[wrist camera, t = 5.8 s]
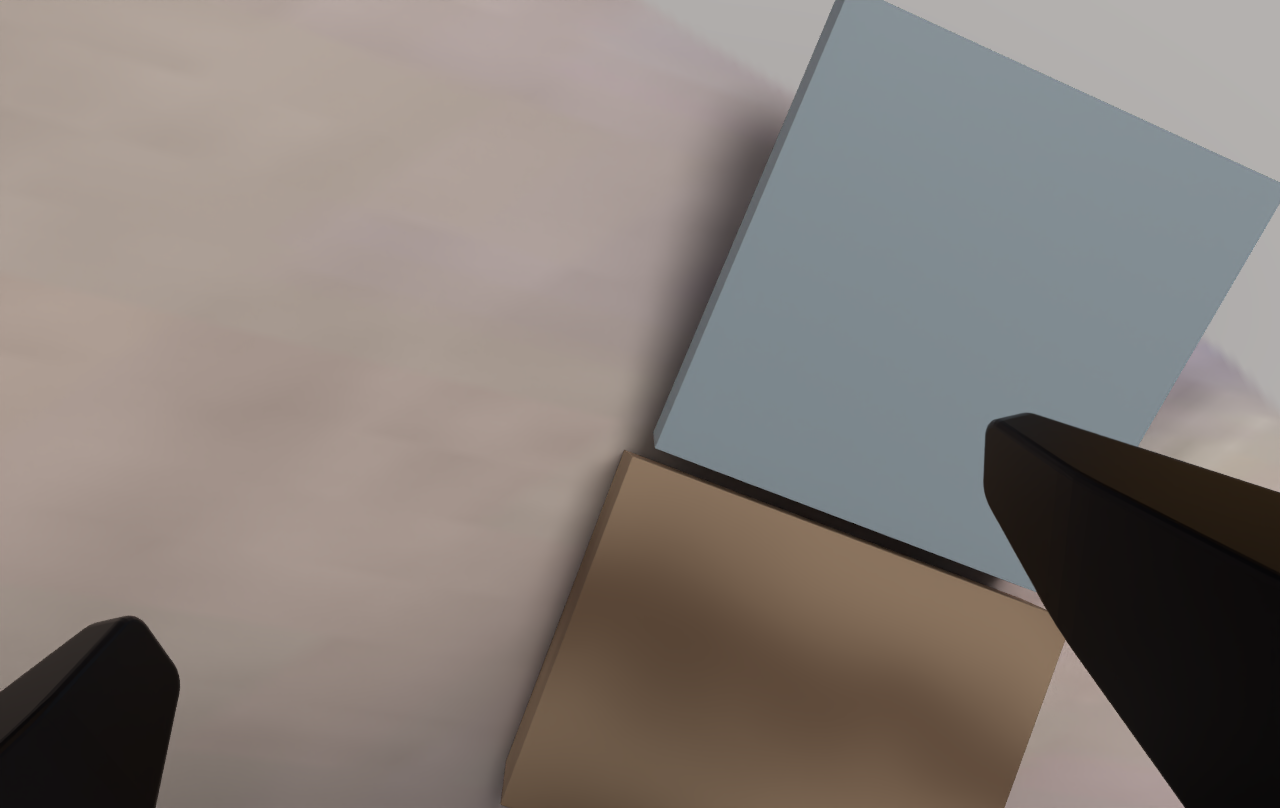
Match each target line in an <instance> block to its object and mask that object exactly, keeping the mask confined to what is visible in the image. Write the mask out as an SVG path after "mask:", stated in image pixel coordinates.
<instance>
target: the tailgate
mask: <svg viewBox="0 0 1280 808" xmlns="http://www.w3.org/2000/svg"><path fill="white" fill-rule="evenodd" d="M1279 204H1280V182H1278V181H1276V180H1273V179H1271V178H1269V177H1267V176H1265V175H1263V174H1260V173H1258V172H1256V171H1254V170H1252V169H1249V168H1247V167H1245V166H1243V165H1241V164H1239V163H1236V162H1234V161H1232V160H1230V159H1228V158H1225V157H1223V156H1221V155H1219V154H1217V153H1215V152H1212V151H1210V150H1208V149H1206V148H1204V147H1202V146H1199V145H1197V144H1195V143H1193V142H1191V141H1188V140H1186V139H1184V138H1182V137H1180V136H1178V135H1175V134H1173V133H1171V132H1169V131H1167V130H1164V129H1162V128H1160V127H1158V126H1156V125H1153V124H1151V123H1149V122H1147V121H1144V120H1143V119H1140V118H1138V117H1136V116H1134V115H1132V114H1129V113H1127V112H1125V111H1123V110H1121V109H1119V108H1117V107H1114V106H1112V105H1110V104H1108V103H1106V102H1103V101H1101V100H1099V99H1097V98H1095V97H1093V96H1090V95H1088V94H1086V93H1084V92H1082V91H1079V90H1077V89H1075V88H1073V87H1071V86H1069V85H1066V84H1064V83H1062V82H1060V81H1058V80H1055V79H1053V78H1051V77H1049V76H1047V75H1045V74H1042V73H1040V72H1038V71H1036V70H1033V69H1031V68H1029V67H1027V66H1025V65H1023V64H1021V63H1018V62H1016V61H1014V60H1012V59H1010V58H1008V57H1005V56H1003V55H1001V54H999V53H997V52H994V51H992V50H990V49H988V48H985V47H984V46H981V45H979V44H977V43H975V42H973V41H971V40H968V39H966V38H964V37H962V36H960V35H957V34H955V33H953V32H951V31H948V30H947V29H944V28H942V27H940V26H938V25H936V24H933V23H931V22H929V21H927V20H925V19H923V18H920V17H918V16H916V15H914V14H912V13H909V12H907V11H905V10H903V9H901V8H899V7H896V6H894V5H892V4H890V3H888V2H885V1H883V0H836V1H835V2H834V5H833V7H832V9H831V12H830V14H829V17H828V19H827V21H826V24H825V26H824V29H823V31H822V33H821V36H820V38H819V40H818V43H817V45H816V48H815V50H814V52H813V55H812V57H811V59H810V62H809V64H808V66H807V69H806V71H805V74H804V76H803V78H802V81H801V83H800V85H799V88H798V90H797V93H796V95H795V97H794V100H793V102H792V104H791V107H790V109H789V111H788V114H787V116H786V119H785V121H784V123H783V126H782V128H781V130H780V133H779V135H778V138H777V140H776V142H775V145H774V147H773V149H772V152H771V154H770V157H769V159H768V161H767V164H766V166H765V168H764V171H763V173H762V176H761V178H760V180H759V183H758V185H757V187H756V190H755V192H754V195H753V197H752V199H751V202H750V204H749V206H748V209H747V211H746V214H745V216H744V218H743V221H742V223H741V225H740V228H739V230H738V233H737V235H736V237H735V240H734V242H733V244H732V247H731V249H730V252H729V254H728V256H727V259H726V261H725V263H724V266H723V268H722V271H721V273H720V275H719V278H718V280H717V282H716V285H715V287H714V290H713V292H712V294H711V297H710V299H709V301H708V304H707V306H706V309H705V311H704V313H703V316H702V318H701V320H700V323H699V325H698V328H697V330H696V332H695V335H694V337H693V339H692V342H691V344H690V347H689V349H688V351H687V354H686V356H685V358H684V361H683V363H682V366H681V368H680V370H679V373H678V375H677V377H676V380H675V382H674V385H673V387H672V389H671V392H670V394H669V396H668V399H667V401H666V404H665V406H664V408H663V411H662V413H661V415H660V418H659V420H658V422H657V425H656V427H655V430H654V432H653V434H654V444H655V448H656V449H658V450H661V451H664V452H666V453H669V454H672V455H674V456H677V457H680V458H682V459H685V460H688V461H690V462H693V463H696V464H698V465H701V466H704V467H706V468H709V469H711V470H714V471H717V472H719V473H722V474H725V475H727V476H730V477H733V478H735V479H738V480H741V481H743V482H746V483H749V484H751V485H754V486H756V487H759V488H762V489H764V490H767V491H770V492H772V493H775V494H778V495H780V496H783V497H786V498H788V499H791V500H794V501H796V502H799V503H802V504H804V505H807V506H809V507H812V508H815V509H817V510H820V511H823V512H825V513H828V514H831V515H833V516H836V517H839V518H841V519H844V520H847V521H849V522H852V523H855V524H857V525H860V526H862V527H865V528H868V529H870V530H873V531H876V532H878V533H881V534H884V535H886V536H889V537H892V538H894V539H897V540H900V541H902V542H905V543H908V544H910V545H913V546H915V547H918V548H921V549H923V550H926V551H929V552H931V553H934V554H937V555H939V556H942V557H945V558H947V559H950V560H953V561H955V562H958V563H960V564H963V565H966V566H968V567H971V568H974V569H976V570H979V571H982V572H984V573H987V574H990V575H992V576H995V577H998V578H1000V579H1003V580H1006V581H1008V582H1011V583H1013V584H1016V585H1019V586H1021V587H1024V588H1027V589H1029V590H1032V591H1035V592H1036V590H1035V588H1034V586H1033V585H1032V583H1031V581H1030V579H1029V577H1028V576H1027V574H1026V572H1025V570H1024V568H1023V567H1022V565H1021V563H1020V561H1019V559H1018V558H1017V556H1016V554H1015V552H1014V550H1013V549H1012V547H1011V545H1010V543H1009V541H1008V540H1007V538H1006V536H1005V534H1004V532H1003V531H1002V529H1001V527H1000V525H999V523H998V522H997V520H996V518H995V516H994V514H993V513H992V511H991V509H990V507H989V505H988V503H987V500H986V497H985V493H984V488H983V472H984V447H985V432H986V428H987V426H988V424H989V423H990V422H991V421H992V420H994V419H998V418H1002V417H1006V416H1011V415H1015V414H1020V413H1025V412H1029V413H1034V414H1037V415H1040V416H1043V417H1047V418H1050V419H1053V420H1056V421H1059V422H1062V423H1065V424H1068V425H1071V426H1074V427H1078V428H1081V429H1084V430H1087V431H1090V432H1093V433H1096V434H1099V435H1102V436H1106V437H1109V438H1112V439H1115V440H1118V441H1121V442H1124V443H1127V444H1130V445H1134V446H1137V447H1138V445H1139V443H1140V442H1141V440H1142V438H1143V436H1144V435H1145V433H1146V431H1147V430H1148V428H1149V426H1150V424H1151V423H1152V421H1153V419H1154V418H1155V416H1156V414H1157V412H1158V411H1159V409H1160V407H1161V406H1162V404H1163V402H1164V400H1165V399H1166V397H1167V395H1168V394H1169V392H1170V390H1171V389H1172V387H1173V385H1174V383H1175V382H1176V380H1177V378H1178V377H1179V375H1180V373H1181V371H1182V370H1183V368H1184V366H1185V365H1186V363H1187V361H1188V359H1189V358H1190V356H1191V354H1192V353H1193V351H1194V349H1195V347H1196V346H1197V344H1198V342H1199V341H1200V339H1201V337H1202V335H1203V334H1204V332H1205V330H1206V329H1207V327H1208V325H1209V323H1210V322H1211V320H1212V318H1213V317H1214V315H1215V313H1216V311H1217V310H1218V308H1219V306H1220V305H1221V303H1222V301H1223V300H1224V298H1225V296H1226V294H1227V293H1228V291H1229V289H1230V288H1231V286H1232V284H1233V282H1234V281H1235V279H1236V277H1237V276H1238V274H1239V272H1240V270H1241V269H1242V267H1243V265H1244V264H1245V262H1246V260H1247V258H1248V257H1249V255H1250V253H1251V252H1252V250H1253V248H1254V246H1255V245H1256V243H1257V241H1258V240H1259V238H1260V236H1261V234H1262V233H1263V231H1264V229H1265V227H1266V226H1267V224H1268V222H1269V221H1270V219H1271V217H1272V216H1273V214H1274V212H1275V211H1276V209H1277V207H1278V205H1279Z"/></svg>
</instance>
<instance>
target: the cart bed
mask: <svg viewBox="0 0 1280 808" xmlns="http://www.w3.org/2000/svg"><path fill="white" fill-rule="evenodd" d="M1064 642H1065V638H1064V637H1063V635H1062V634H1061V632H1060V631H1059V629H1058V628H1057V626H1056V625H1055V623H1054V621H1053V620H1052V618H1051V616H1050V615H1049V613H1048V611H1047V610H1045V609H1043V608H1041V607H1039V606H1036V605H1034V604H1032V603H1030V602H1027V601H1025V600H1023V599H1020V598H1018V597H1015V596H1012V595H1010V594H1007V593H1004V592H1002V591H999V590H996V589H994V588H991V587H988V586H986V585H983V584H980V583H978V582H975V581H972V580H970V579H967V578H964V577H962V576H959V575H956V574H954V573H951V572H948V571H946V570H943V569H940V568H938V567H935V566H932V565H930V564H927V563H924V562H922V561H919V560H916V559H914V558H911V557H908V556H906V555H903V554H900V553H898V552H895V551H893V550H890V549H887V548H885V547H882V546H879V545H877V544H874V543H871V542H869V541H866V540H863V539H861V538H858V537H855V536H853V535H850V534H847V533H845V532H842V531H839V530H837V529H834V528H831V527H829V526H826V525H823V524H821V523H818V522H815V521H813V520H810V519H807V518H805V517H802V516H799V515H797V514H794V513H791V512H789V511H786V510H783V509H781V508H778V507H775V506H773V505H770V504H767V503H765V502H762V501H759V500H757V499H754V498H751V497H749V496H746V495H743V494H741V493H738V492H735V491H733V490H730V489H727V488H725V487H722V486H719V485H717V484H714V483H711V482H709V481H706V480H703V479H701V478H698V477H695V476H693V475H690V474H687V473H685V472H682V471H679V470H677V469H674V468H671V467H669V466H666V465H663V464H661V463H658V462H656V461H653V460H650V459H648V458H645V457H642V456H640V455H637V454H634V453H632V452H629V451H626V450H624V452H623V455H622V458H621V460H620V463H619V465H618V468H617V471H616V473H615V476H614V479H613V481H612V484H611V486H610V489H609V492H608V494H607V497H606V500H605V502H604V505H603V508H602V510H601V513H600V515H599V518H598V521H597V523H596V526H595V529H594V531H593V534H592V537H591V539H590V542H589V544H588V547H587V550H586V552H585V555H584V558H583V560H582V563H581V565H580V568H579V571H578V573H577V576H576V579H575V581H574V584H573V587H572V589H571V592H570V594H569V597H568V600H567V602H566V605H565V608H564V610H563V613H562V615H561V618H560V621H559V623H558V626H557V629H556V631H555V634H554V637H553V639H552V642H551V644H550V647H549V650H548V652H547V655H546V658H545V660H544V663H543V665H542V668H541V671H540V673H539V676H538V679H537V681H536V684H535V687H534V689H533V692H532V694H531V697H530V700H529V702H528V705H527V708H526V710H525V713H524V715H523V718H522V721H521V723H520V726H519V729H518V731H517V734H516V737H515V739H514V742H513V744H512V747H511V750H510V752H509V755H508V758H507V760H506V766H505V774H504V782H503V789H502V797H501V805H503V806H506V807H510V808H1004V807H1005V805H1006V802H1007V799H1008V796H1009V794H1010V791H1011V788H1012V785H1013V783H1014V780H1015V777H1016V774H1017V772H1018V769H1019V766H1020V763H1021V760H1022V758H1023V755H1024V752H1025V749H1026V747H1027V744H1028V741H1029V738H1030V736H1031V733H1032V730H1033V727H1034V725H1035V722H1036V719H1037V716H1038V714H1039V711H1040V708H1041V705H1042V703H1043V700H1044V697H1045V694H1046V691H1047V689H1048V686H1049V683H1050V680H1051V678H1052V675H1053V672H1054V669H1055V667H1056V664H1057V661H1058V658H1059V656H1060V653H1061V650H1062V647H1063V645H1064Z"/></svg>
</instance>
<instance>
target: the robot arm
mask: <svg viewBox="0 0 1280 808" xmlns="http://www.w3.org/2000/svg"><path fill="white" fill-rule="evenodd" d="M983 488H984V493H985V497H986V500H987V503H988V505H989V507H990V509H991V511H992V513H993V514H994V516H995V518H996V520H997V522H998V523H999V525H1000V527H1001V529H1002V531H1003V532H1004V534H1005V536H1006V538H1007V540H1008V541H1009V543H1010V545H1011V547H1012V549H1013V550H1014V552H1015V554H1016V556H1017V558H1018V559H1019V561H1020V563H1021V565H1022V567H1023V568H1024V570H1025V572H1026V574H1027V576H1028V577H1029V579H1030V581H1031V583H1032V585H1033V586H1034V588H1035V590H1036V592H1037V594H1038V595H1039V597H1040V599H1041V601H1042V603H1043V604H1044V606H1045V608H1046V609H1047V611H1048V613H1049V615H1050V616H1051V618H1052V620H1053V621H1054V623H1055V625H1056V626H1057V628H1058V629H1059V631H1060V632H1061V634H1062V635H1063V637H1064V638H1065V640H1066V641H1067V643H1068V644H1069V646H1070V647H1071V648H1072V650H1073V651H1074V653H1075V654H1076V655H1077V657H1078V658H1079V660H1080V661H1081V662H1082V664H1083V665H1084V667H1085V668H1086V669H1087V671H1088V672H1089V674H1090V675H1091V677H1092V678H1093V679H1094V681H1095V682H1096V684H1097V685H1098V686H1099V688H1100V689H1101V691H1102V692H1103V693H1104V695H1105V696H1106V698H1107V699H1108V700H1109V702H1110V703H1111V705H1112V706H1113V707H1114V709H1115V710H1116V712H1117V713H1118V714H1119V716H1120V717H1121V719H1122V720H1123V721H1124V723H1125V724H1126V726H1127V727H1128V728H1129V730H1130V731H1131V733H1132V734H1133V735H1134V737H1135V738H1136V740H1137V741H1138V743H1139V744H1140V745H1141V747H1142V748H1143V750H1144V751H1145V752H1146V754H1147V755H1148V757H1149V758H1150V759H1151V761H1152V762H1153V764H1154V765H1155V766H1156V768H1157V769H1158V771H1159V772H1160V773H1161V775H1162V776H1163V778H1164V779H1165V780H1166V782H1167V783H1168V785H1169V786H1170V787H1171V789H1172V790H1173V792H1174V793H1175V794H1176V796H1177V797H1178V799H1179V800H1180V802H1181V803H1182V804H1183V806H1184V807H1185V808H1280V492H1276V491H1273V490H1270V489H1267V488H1264V487H1261V486H1258V485H1255V484H1252V483H1248V482H1245V481H1242V480H1239V479H1236V478H1233V477H1230V476H1227V475H1224V474H1221V473H1217V472H1214V471H1211V470H1208V469H1205V468H1202V467H1199V466H1196V465H1193V464H1189V463H1186V462H1183V461H1180V460H1177V459H1174V458H1171V457H1168V456H1165V455H1161V454H1158V453H1155V452H1152V451H1149V450H1146V449H1143V448H1140V447H1137V446H1134V445H1130V444H1127V443H1124V442H1121V441H1118V440H1115V439H1112V438H1109V437H1106V436H1102V435H1099V434H1096V433H1093V432H1090V431H1087V430H1084V429H1081V428H1078V427H1074V426H1071V425H1068V424H1065V423H1062V422H1059V421H1056V420H1053V419H1050V418H1047V417H1043V416H1040V415H1037V414H1034V413H1029V412H1025V413H1020V414H1015V415H1011V416H1006V417H1002V418H998V419H994V420H992V421H991V422H990V423H989V424H988V426H987V428H986V432H985V447H984V472H983ZM179 691H180V680H179V674H178V671H177V668H176V667H175V665H174V663H173V662H172V660H171V659H170V658H169V656H168V655H167V653H166V652H165V651H164V649H163V648H162V646H161V645H160V643H159V642H158V641H157V639H156V638H155V636H154V635H153V634H152V632H151V631H150V629H149V628H148V626H147V625H146V624H145V623H144V622H143V621H142V620H141V619H139V618H137V617H135V616H123V617H119V618H114V619H110V620H105V621H101V622H97V623H94V624H91V625H89V626H88V627H86V628H84V629H83V630H82V631H80V632H79V633H78V634H76V635H75V636H74V637H72V638H71V639H70V640H69V641H67V642H66V643H65V644H63V645H62V646H61V647H59V648H58V649H57V650H55V651H54V652H53V653H51V654H50V655H49V656H47V657H46V658H45V659H43V660H42V661H41V662H39V663H38V664H37V665H35V666H34V667H33V668H31V669H30V670H29V671H27V672H26V673H25V674H23V675H22V676H21V677H19V678H18V679H17V680H15V681H14V682H13V683H12V684H10V685H9V686H8V687H6V688H5V689H4V690H2V691H1V692H0V808H156V803H157V798H158V793H159V788H160V784H161V779H162V774H163V769H164V764H165V760H166V755H167V750H168V745H169V740H170V735H171V731H172V726H173V721H174V716H175V711H176V707H177V702H178V697H179Z"/></svg>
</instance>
